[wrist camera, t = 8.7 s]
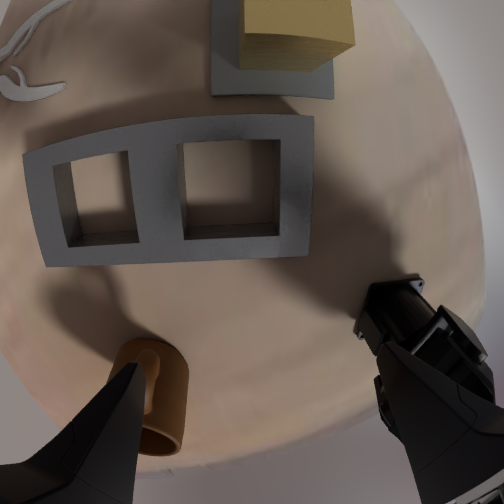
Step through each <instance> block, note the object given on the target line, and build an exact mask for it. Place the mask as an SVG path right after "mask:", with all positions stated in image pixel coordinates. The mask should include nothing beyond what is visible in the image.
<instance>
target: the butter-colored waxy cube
mask: <svg viewBox="0 0 504 504" xmlns="http://www.w3.org/2000/svg"><path fill="white" fill-rule="evenodd" d="M238 45H239V70H276V71H293V72H305V73H311V72H312V71H314V70H315V69H317V68H318V67H320V66H322V65H323V64H325V63H326V62H328V61H329V60H331V59H333V58H334V57H336V56H338V55H339V54H341V53H343V52H344V51H346V50H348V49H349V48H351V47H353V46H355V35H354V25H353V17H352V9H351V2H350V0H239V9H238Z"/></svg>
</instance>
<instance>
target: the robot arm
mask: <svg viewBox="0 0 504 504" xmlns="http://www.w3.org/2000/svg"><path fill="white" fill-rule="evenodd" d="M419 283H420V284H419ZM423 286H424V280H423V279H422V278H415V279H408V280H400V281H391V282H383V283H374V284H372V285H371V286H370V287H369V290H368V294H367V298H366V302H365V306H364V308H363V311H362V315H361V319H360V322H359V326H358V328H359V329H358V332H357V337H358V339H359V340H364V339H365V340H366V342H367V344H368V346H369V348H370V349H371V351H372V353H373V355H375V356H377V359H376V361H377V366H378V369H379V373H380V375H378V376H376V377H375V378H374V384H375V389H376V395H377V401H378V407H379V412H380V416H381V419H382V421H383V422H384V423H385V425H386V426H387V427H388V430H389V431H390V432H391V433H392V434H394V435H395V436H396V437H397V438H398V439H399V440H400V441H401V442H402V443H403V445H404V446H405V449H406V452H407V456H408V458H409V462H410V465H411V468H412V471H413V474H414V478H415V482H416V485H417V489H418V492H419V496H420V499H421V503H422V504H445V503H448V502H449V501H451V500H453V499H455V500H456V502H455V503H454V504H504V408H501V407H499V406H497V405H496V401H495V389H494V378H493V372H492V370H491V369H490V368H489V367H488V365H487V364H486V363H485V362H484V360H485V359H486V358H487V357H488V355H487V353H486V351H485V349H484V347H483V346H482V344H481V342H480V341H479V339H478V337H477V336H476V334H475V333H474V332H473V330H472V329H471V328H470V327H469V326H468V325H467V324H466V323H465V322H464V321H463V320H462V319H461V318H460V317H458V316H457V315H456V314H454V313H453V312H451V311H450V310H449V309H447V308H446V307H444V306H443V305H440V306H439V307H438V309H437V312H436V311H435V310H434V309H433V308H432V307H431V306H430V304H429V303H428V302H427V301H426V300H425V299H424V298H423V297H422V296H421V292H422V289H423ZM374 289H375V290H374ZM145 390H146V377H145V374H144V372H143V370H142V367H141V365H140V363H139V362H127V363H126V364H125V365H124V366H123V367H122V368H121V369H120V370H119V372H118V373H117V374H116V375H115V376H114V377H113V378H112V379H111V380H110V381H109V382H108V383H107V384H106V385H105V386H104V387H103V388H102V389H101V390H100V391H99V392H98V393H97V394H96V395H95V396H94V397H93V398H92V400H91V401H90V402H89V403H88V404H87V405H86V406H85V407H84V408H83V409H82V410H81V411H80V412H79V413H78V414H77V415H76V416H75V417H74V418H73V419H72V421H70V422H69V424H68V425H67V426H66V427H65V428H64V429H63V430H62V431H61V432H60V433H59V434H58V435H57V436H55V437H54V438H53V439H52V440H51V441H50V442H49V443H47V444H46V445H45V446H44V447H43V448H42V449H41V450H39V451H38V452H37V453H35V454H34V455H33V456H32V457H30V458H29V459H28V460H26V461H23V462H21V463H16V464H6V465H0V504H132V502H133V490H134V481H135V473H136V465H137V457H138V450H139V443H140V437H141V431H142V425H143V418H144V405H145Z"/></svg>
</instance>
